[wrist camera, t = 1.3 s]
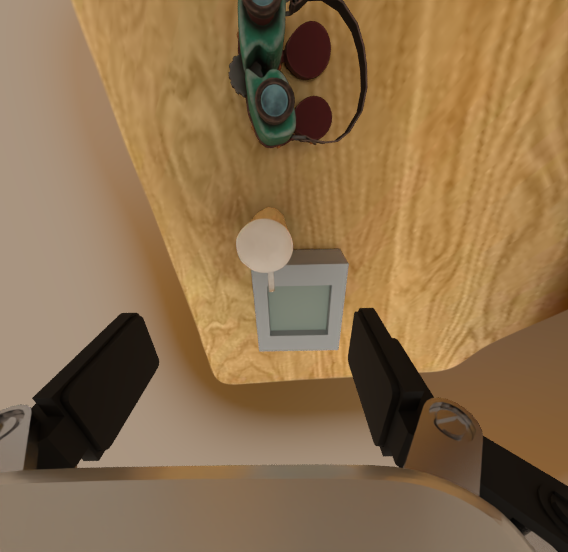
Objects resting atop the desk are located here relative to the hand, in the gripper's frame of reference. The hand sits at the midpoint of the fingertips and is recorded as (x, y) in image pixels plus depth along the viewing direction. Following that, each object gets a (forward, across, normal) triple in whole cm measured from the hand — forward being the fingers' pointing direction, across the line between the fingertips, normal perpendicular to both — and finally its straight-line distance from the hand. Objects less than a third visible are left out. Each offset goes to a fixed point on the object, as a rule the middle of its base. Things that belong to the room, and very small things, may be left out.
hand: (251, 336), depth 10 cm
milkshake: (+18, 0, 0) cm, 18 cm away
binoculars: (+18, -3, -12) cm, 22 cm away
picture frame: (+18, -3, +9) cm, 20 cm away
